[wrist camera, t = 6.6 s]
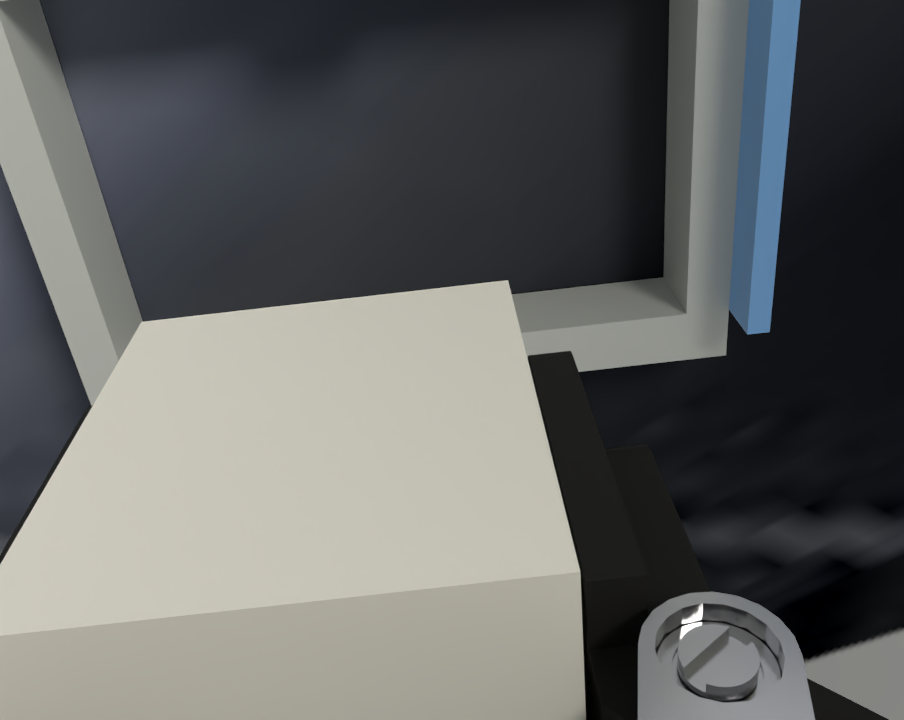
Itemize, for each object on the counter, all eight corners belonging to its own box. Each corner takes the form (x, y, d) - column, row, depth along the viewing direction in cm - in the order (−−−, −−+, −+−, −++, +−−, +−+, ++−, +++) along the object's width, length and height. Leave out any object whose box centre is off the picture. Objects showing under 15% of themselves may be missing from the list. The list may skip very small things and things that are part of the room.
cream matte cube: (507, 280, 10) (579, 572, 6) (529, 556, 13) (594, 913, 8) (141, 322, 10) (-46, 640, 6) (227, 590, 13) (134, 963, 8)
